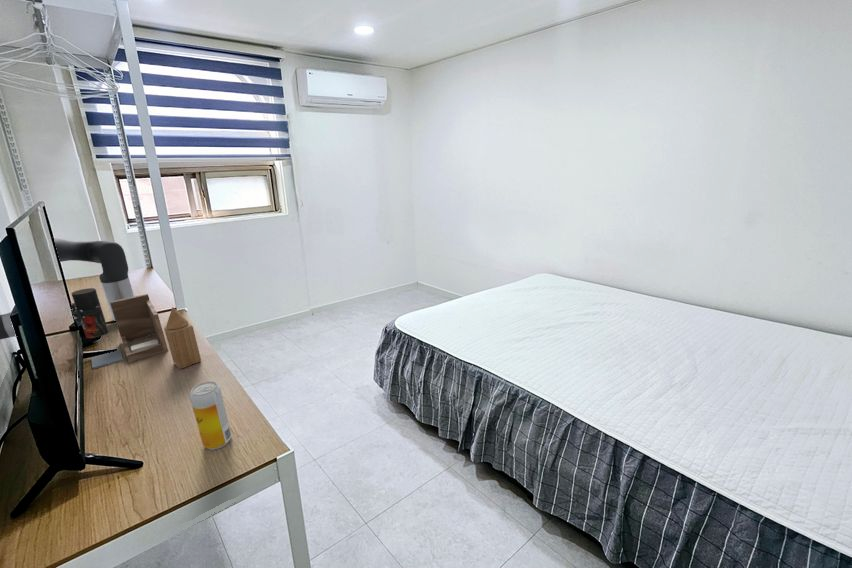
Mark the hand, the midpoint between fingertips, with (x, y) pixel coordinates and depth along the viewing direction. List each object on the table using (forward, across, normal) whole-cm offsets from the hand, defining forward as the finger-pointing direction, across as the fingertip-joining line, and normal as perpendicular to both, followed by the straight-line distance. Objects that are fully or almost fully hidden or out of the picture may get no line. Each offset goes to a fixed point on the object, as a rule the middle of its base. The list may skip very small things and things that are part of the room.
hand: (98, 306), depth 128 cm
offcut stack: (+9, -3, +19) cm, 21 cm away
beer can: (+15, -70, +19) cm, 74 cm away
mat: (-2, 0, +19) cm, 19 cm away
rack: (+9, +3, +19) cm, 21 cm away
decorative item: (+18, -22, +19) cm, 34 cm away
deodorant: (-2, 0, +9) cm, 10 cm away
